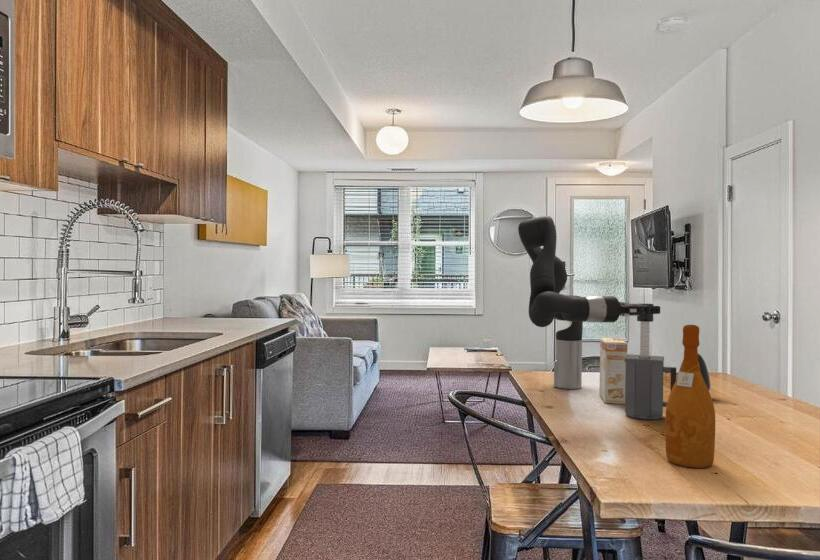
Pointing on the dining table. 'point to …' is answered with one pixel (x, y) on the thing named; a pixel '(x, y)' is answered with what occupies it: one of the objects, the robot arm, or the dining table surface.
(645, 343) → the plunger
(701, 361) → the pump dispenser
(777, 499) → the dining table surface
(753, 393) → the dining table surface
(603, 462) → the dining table surface
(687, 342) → the wine bottle
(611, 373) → the coffeecake box
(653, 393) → the press body
